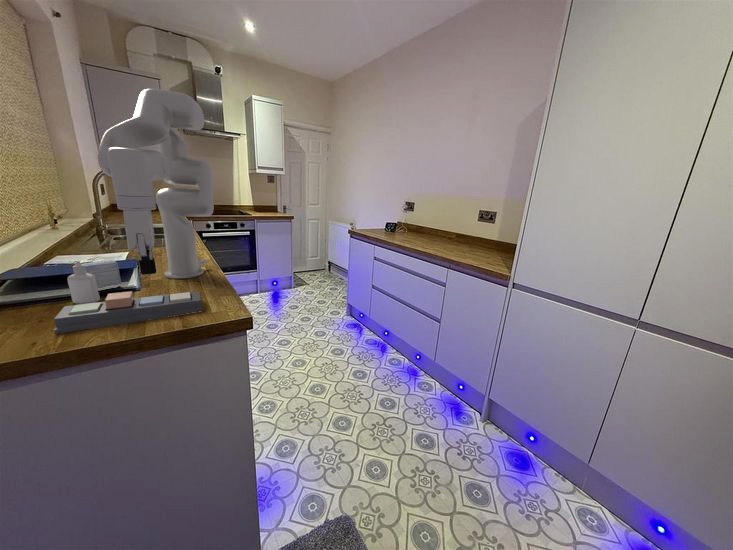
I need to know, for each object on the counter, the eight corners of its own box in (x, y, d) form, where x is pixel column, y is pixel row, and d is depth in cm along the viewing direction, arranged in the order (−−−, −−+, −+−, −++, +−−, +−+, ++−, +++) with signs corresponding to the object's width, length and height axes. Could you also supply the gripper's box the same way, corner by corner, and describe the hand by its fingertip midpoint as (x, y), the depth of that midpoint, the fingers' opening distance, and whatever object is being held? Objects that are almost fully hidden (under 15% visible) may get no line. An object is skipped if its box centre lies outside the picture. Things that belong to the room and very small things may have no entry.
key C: (103, 310, 74) (101, 302, 74) (99, 317, 71) (97, 309, 70) (77, 313, 72) (75, 304, 71) (72, 321, 68) (69, 312, 67)
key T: (164, 303, 81) (162, 295, 81) (163, 309, 77) (162, 301, 77) (142, 305, 79) (141, 297, 78) (141, 312, 75) (139, 303, 74)
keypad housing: (199, 298, 89) (198, 289, 88) (202, 312, 80) (201, 302, 79) (69, 314, 73) (66, 303, 73) (55, 333, 65) (51, 321, 64)
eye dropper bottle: (84, 306, 79) (74, 264, 75) (70, 302, 80) (60, 261, 76) (102, 300, 83) (94, 260, 79) (88, 297, 84) (79, 257, 80)
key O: (133, 299, 77) (132, 291, 77) (131, 306, 73) (129, 297, 73) (110, 302, 75) (108, 293, 74) (106, 309, 71) (104, 300, 70)
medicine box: (116, 284, 95) (111, 259, 93) (122, 287, 93) (117, 261, 91) (84, 290, 89) (78, 263, 86) (90, 294, 87) (84, 266, 84)
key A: (190, 299, 85) (189, 292, 84) (191, 305, 81) (190, 297, 80) (171, 302, 82) (170, 294, 82) (171, 308, 78) (169, 300, 78)
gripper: (121, 198, 74) (134, 266, 80) (111, 206, 62) (127, 284, 68) (156, 199, 78) (166, 263, 84) (154, 206, 66) (165, 280, 72)
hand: (149, 273), depth 76 cm, fingers closed
